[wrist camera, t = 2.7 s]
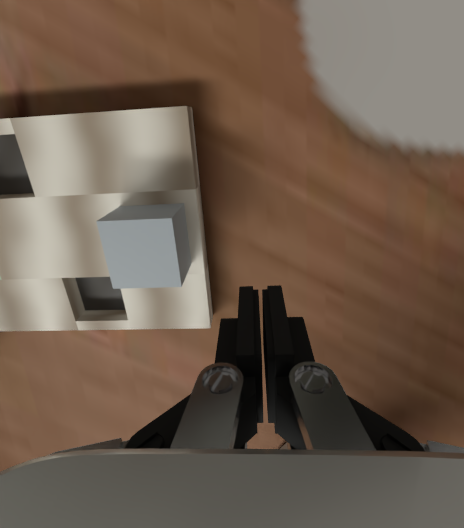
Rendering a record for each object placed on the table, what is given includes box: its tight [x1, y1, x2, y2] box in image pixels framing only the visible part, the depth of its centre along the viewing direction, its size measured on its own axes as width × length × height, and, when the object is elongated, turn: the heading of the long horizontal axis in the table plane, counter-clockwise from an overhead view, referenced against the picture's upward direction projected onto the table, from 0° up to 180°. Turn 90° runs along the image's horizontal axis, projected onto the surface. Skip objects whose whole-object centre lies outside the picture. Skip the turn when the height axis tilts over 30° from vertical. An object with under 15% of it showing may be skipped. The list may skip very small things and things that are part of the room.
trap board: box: [0, 106, 213, 331], centre depth 25 cm, size 23×18×5 cm
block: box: [96, 203, 192, 289], centre depth 23 cm, size 5×5×4 cm
